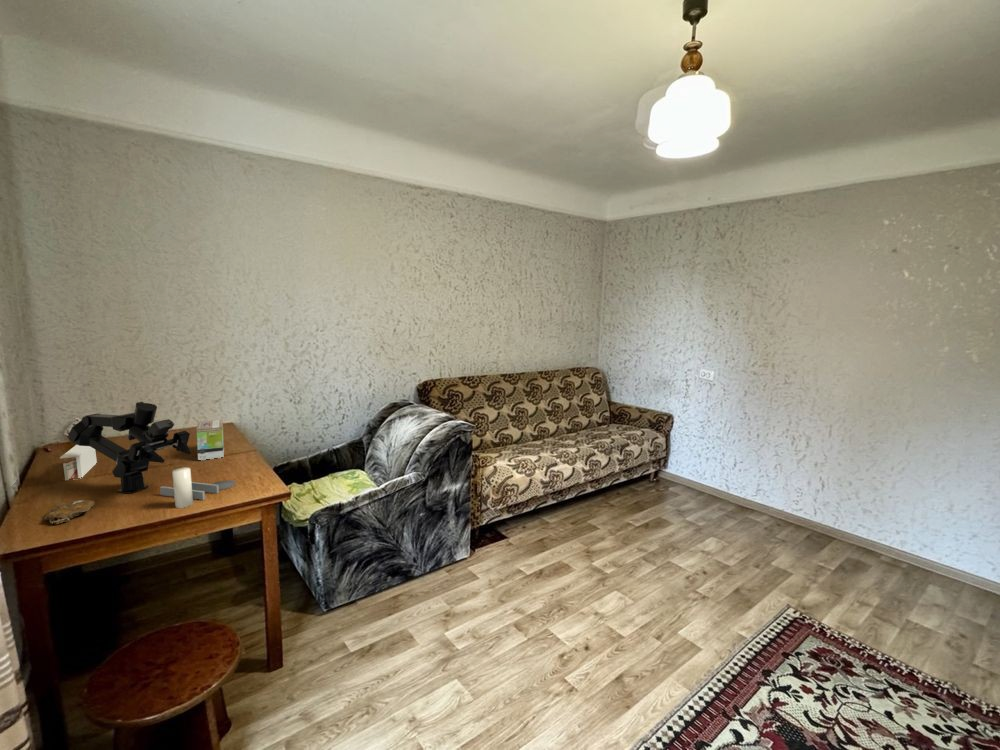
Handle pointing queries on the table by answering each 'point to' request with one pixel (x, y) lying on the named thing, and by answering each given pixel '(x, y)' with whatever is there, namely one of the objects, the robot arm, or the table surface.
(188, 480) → the white rounded block
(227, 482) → the coaster
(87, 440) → the robot arm
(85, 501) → the decorative rock
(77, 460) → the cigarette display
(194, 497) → the grey parallel rails
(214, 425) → the tea box
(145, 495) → the table surface
